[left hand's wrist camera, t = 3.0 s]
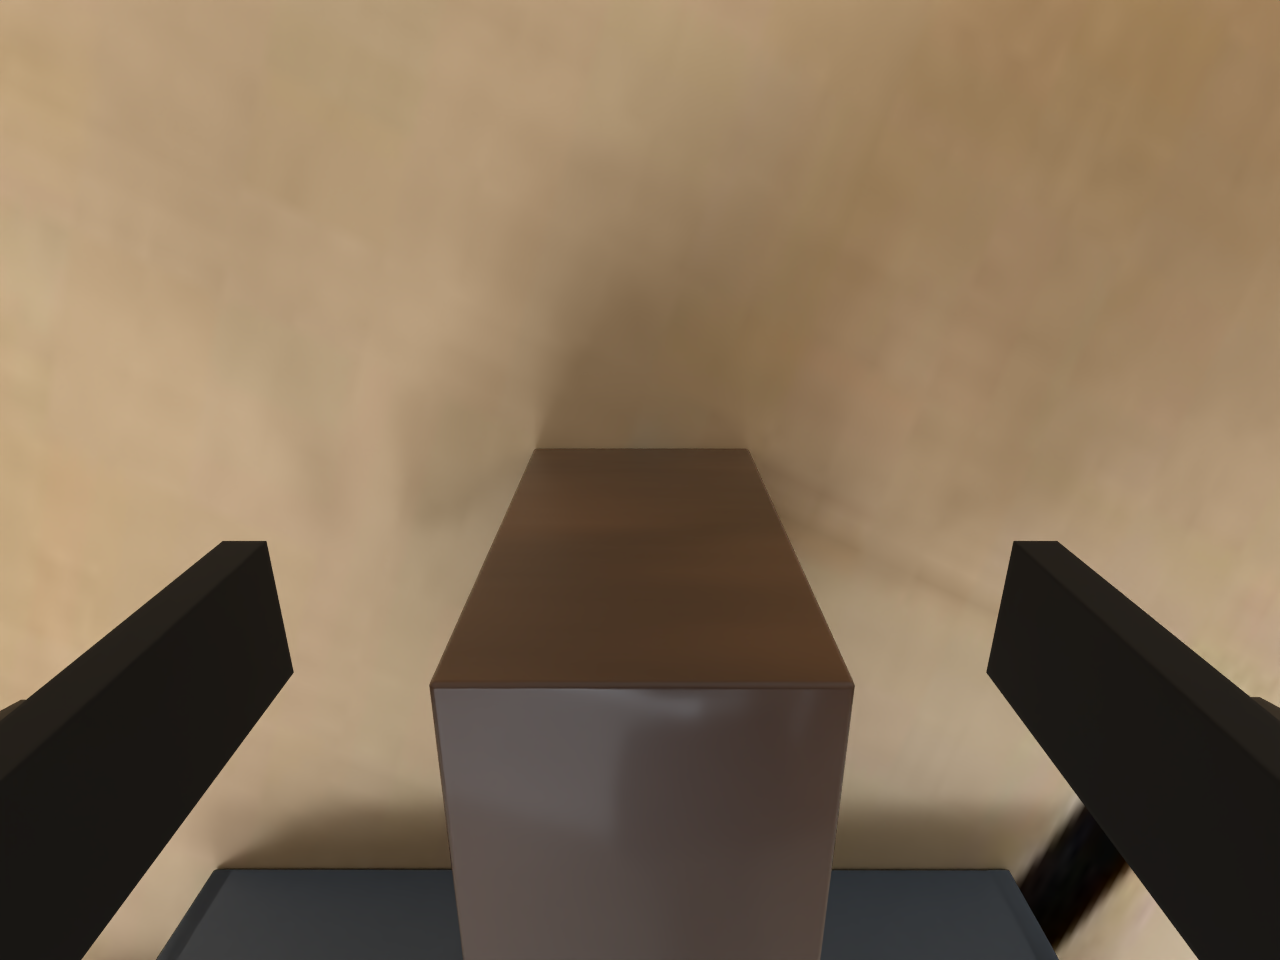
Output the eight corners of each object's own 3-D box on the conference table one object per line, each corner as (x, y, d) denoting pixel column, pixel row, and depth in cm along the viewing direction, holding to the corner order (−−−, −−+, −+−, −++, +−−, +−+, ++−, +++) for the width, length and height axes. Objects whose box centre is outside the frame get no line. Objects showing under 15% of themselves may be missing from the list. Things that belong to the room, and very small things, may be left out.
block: (749, 447, 15) (857, 683, 7) (738, 633, 17) (819, 982, 9) (533, 447, 15) (426, 683, 8) (543, 633, 17) (463, 980, 9)
